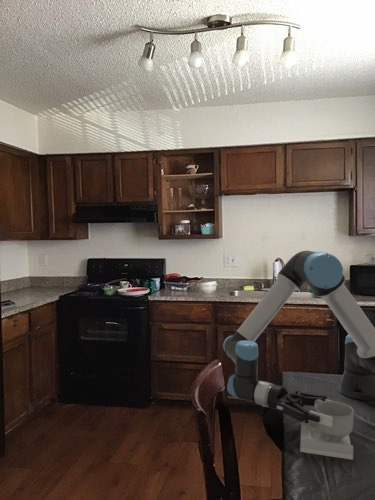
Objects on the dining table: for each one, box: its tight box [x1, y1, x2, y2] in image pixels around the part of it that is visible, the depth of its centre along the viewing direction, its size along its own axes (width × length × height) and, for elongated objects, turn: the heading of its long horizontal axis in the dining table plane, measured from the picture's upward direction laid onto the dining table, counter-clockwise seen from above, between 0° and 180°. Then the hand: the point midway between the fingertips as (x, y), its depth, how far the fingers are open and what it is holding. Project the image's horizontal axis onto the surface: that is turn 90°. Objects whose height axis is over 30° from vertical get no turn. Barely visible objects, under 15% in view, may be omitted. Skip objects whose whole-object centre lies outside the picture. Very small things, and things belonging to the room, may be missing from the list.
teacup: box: [313, 399, 355, 439], centre depth 126 cm, size 14×11×8 cm
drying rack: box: [299, 420, 354, 460], centre depth 127 cm, size 16×14×4 cm
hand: (339, 415), depth 124 cm, fingers closed on teacup, 11 cm apart
